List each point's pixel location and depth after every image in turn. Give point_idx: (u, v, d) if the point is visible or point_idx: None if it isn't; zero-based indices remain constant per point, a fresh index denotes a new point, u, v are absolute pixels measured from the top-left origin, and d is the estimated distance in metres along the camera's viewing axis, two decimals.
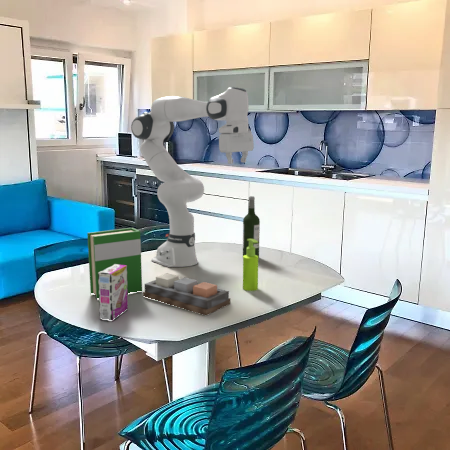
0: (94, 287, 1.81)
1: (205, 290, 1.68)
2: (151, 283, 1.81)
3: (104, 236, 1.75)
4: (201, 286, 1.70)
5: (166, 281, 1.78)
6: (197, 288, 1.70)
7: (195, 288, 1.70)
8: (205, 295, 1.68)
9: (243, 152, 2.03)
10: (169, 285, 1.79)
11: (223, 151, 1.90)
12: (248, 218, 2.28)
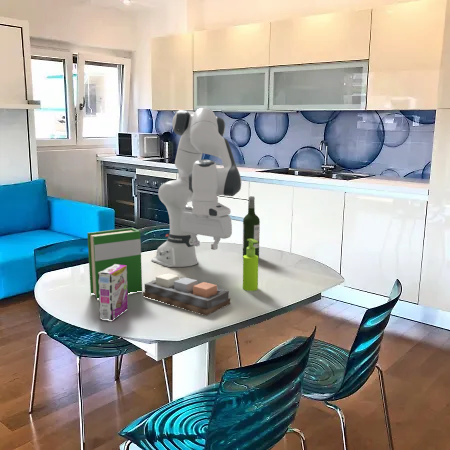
0: (94, 287, 1.81)
1: (205, 290, 1.68)
2: (151, 283, 1.81)
3: (104, 236, 1.75)
4: (201, 286, 1.70)
5: (166, 281, 1.78)
6: (197, 288, 1.70)
7: (195, 288, 1.70)
8: (205, 295, 1.68)
9: (194, 234, 1.70)
10: (169, 285, 1.79)
11: (228, 236, 1.62)
12: (248, 218, 2.28)
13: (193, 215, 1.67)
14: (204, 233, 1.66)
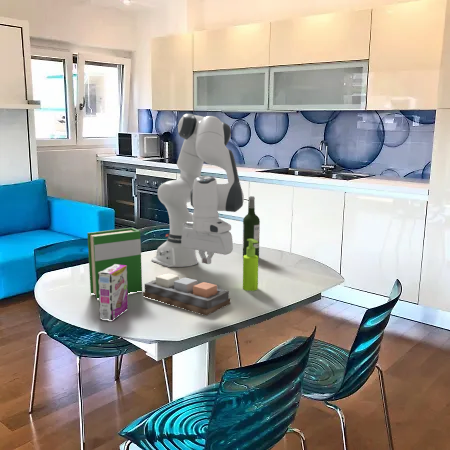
0: (94, 287, 1.81)
1: (205, 290, 1.68)
2: (151, 283, 1.81)
3: (104, 236, 1.75)
4: (201, 286, 1.70)
5: (166, 281, 1.78)
6: (197, 288, 1.70)
7: (195, 288, 1.70)
8: (205, 295, 1.68)
9: (203, 251, 1.69)
10: (169, 285, 1.79)
11: (229, 252, 1.63)
12: (249, 218, 2.28)
13: (194, 231, 1.68)
14: (205, 249, 1.67)
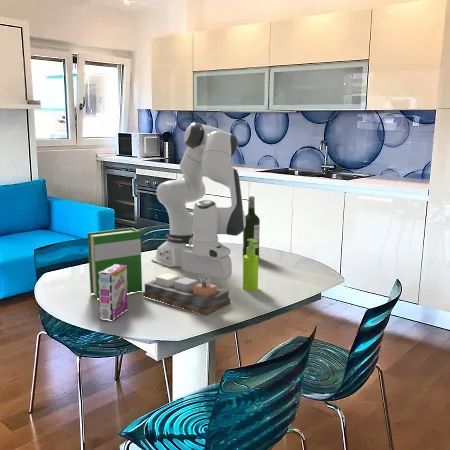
0: (94, 287, 1.81)
1: (205, 291, 1.68)
2: (151, 283, 1.81)
3: (104, 236, 1.75)
4: (201, 287, 1.71)
5: (166, 281, 1.78)
6: (197, 289, 1.70)
7: (195, 289, 1.70)
8: (205, 296, 1.68)
9: (202, 274, 1.71)
10: (169, 285, 1.79)
11: (228, 277, 1.65)
12: (249, 218, 2.28)
13: (194, 254, 1.70)
14: (204, 272, 1.68)
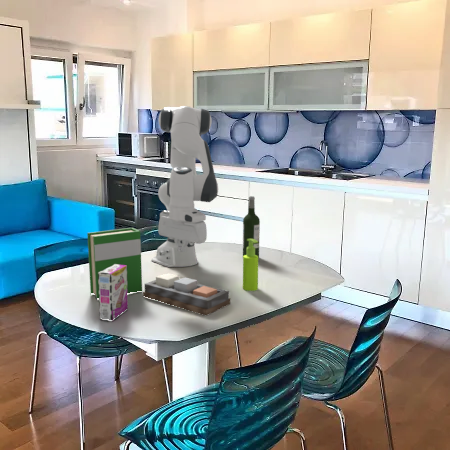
0: (94, 287, 1.81)
1: (205, 294, 1.68)
2: (151, 283, 1.81)
3: (104, 236, 1.75)
4: (201, 290, 1.71)
5: (166, 281, 1.78)
6: (197, 292, 1.70)
7: (195, 292, 1.71)
8: None
9: (178, 239, 1.75)
10: (169, 285, 1.79)
11: (203, 242, 1.69)
12: (249, 218, 2.28)
13: (170, 220, 1.74)
14: (180, 237, 1.72)
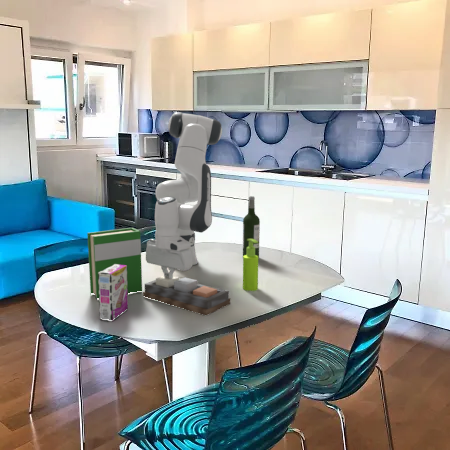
0: (94, 287, 1.81)
1: (205, 294, 1.68)
2: (151, 283, 1.81)
3: (104, 236, 1.75)
4: (201, 290, 1.71)
5: (166, 283, 1.78)
6: (197, 292, 1.70)
7: (195, 292, 1.71)
8: None
9: (165, 267, 1.81)
10: None
11: (188, 269, 1.75)
12: (248, 218, 2.28)
13: (157, 248, 1.80)
14: (167, 265, 1.79)
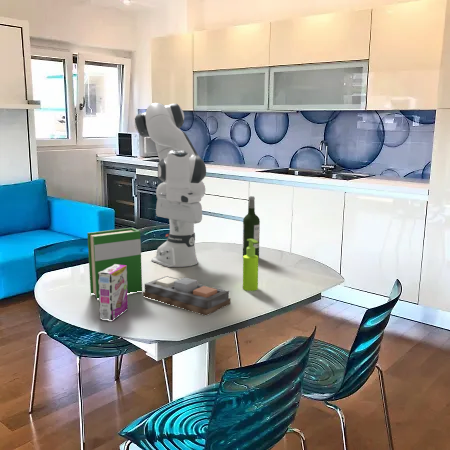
0: (94, 287, 1.81)
1: (205, 294, 1.68)
2: (151, 283, 1.81)
3: (104, 236, 1.75)
4: (201, 290, 1.71)
5: (166, 285, 1.79)
6: (197, 292, 1.70)
7: (195, 292, 1.71)
8: None
9: (175, 220, 1.82)
10: None
11: (198, 222, 1.76)
12: (249, 218, 2.28)
13: (167, 201, 1.81)
14: (177, 218, 1.79)
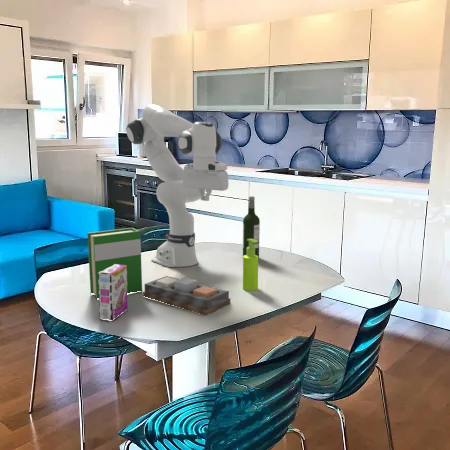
0: (94, 287, 1.81)
1: (205, 294, 1.68)
2: (151, 283, 1.81)
3: (104, 236, 1.75)
4: (201, 290, 1.71)
5: (166, 285, 1.79)
6: (197, 292, 1.70)
7: (195, 292, 1.71)
8: None
9: (202, 189, 1.89)
10: None
11: (225, 189, 1.83)
12: (248, 218, 2.28)
13: (194, 171, 1.88)
14: (204, 187, 1.87)
